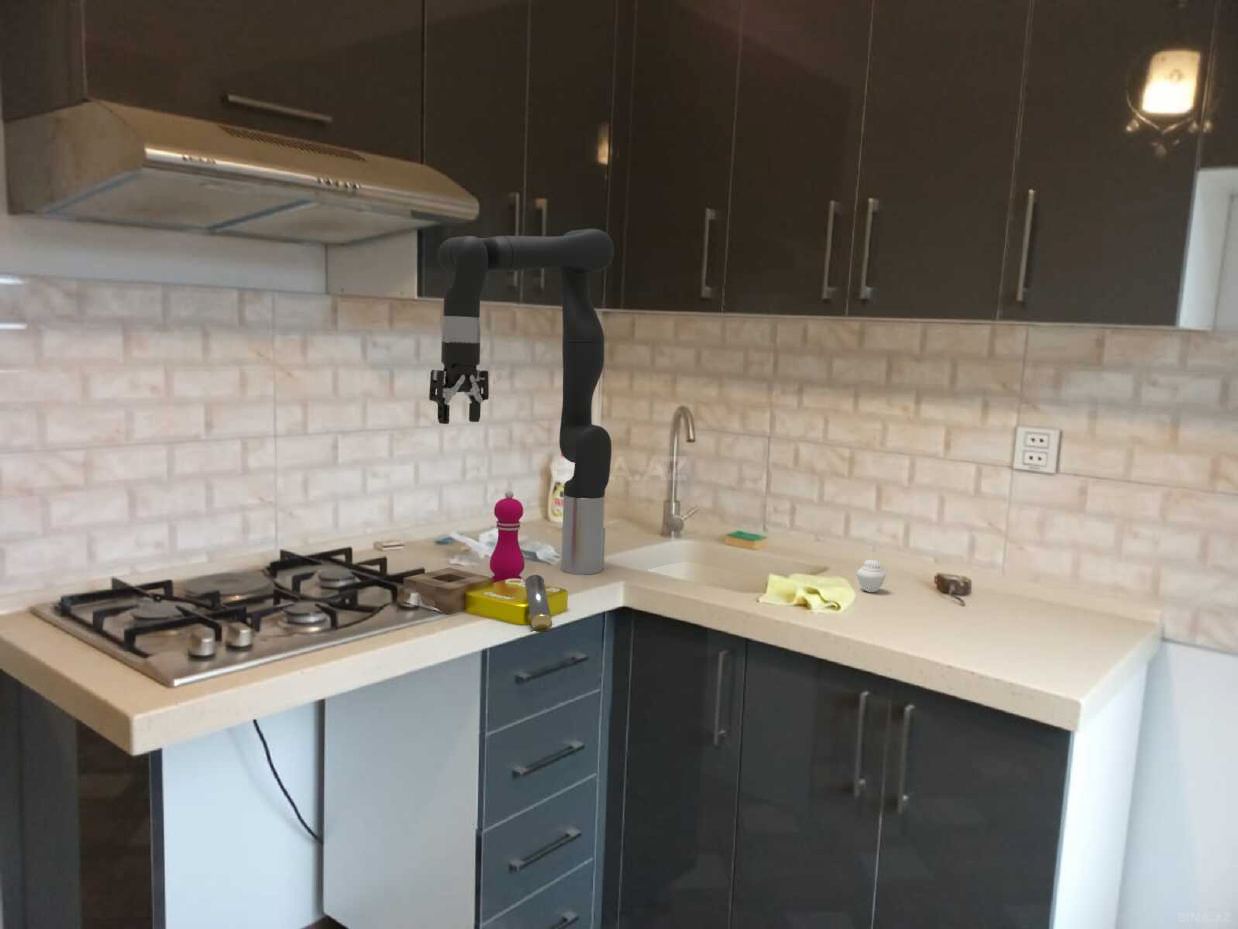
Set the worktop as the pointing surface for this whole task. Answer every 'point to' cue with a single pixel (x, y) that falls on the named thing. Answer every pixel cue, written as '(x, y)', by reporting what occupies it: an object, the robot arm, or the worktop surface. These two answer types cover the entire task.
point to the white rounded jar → (871, 576)
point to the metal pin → (538, 603)
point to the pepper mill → (507, 540)
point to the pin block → (445, 588)
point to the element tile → (510, 601)
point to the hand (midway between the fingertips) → (459, 422)
